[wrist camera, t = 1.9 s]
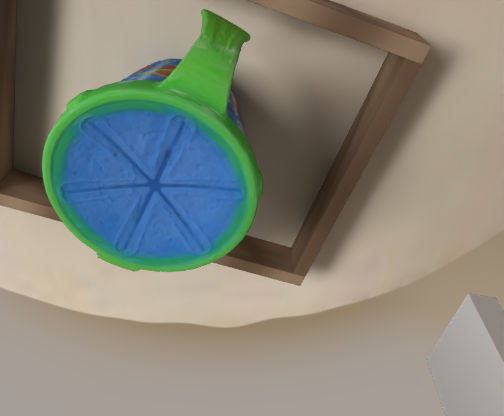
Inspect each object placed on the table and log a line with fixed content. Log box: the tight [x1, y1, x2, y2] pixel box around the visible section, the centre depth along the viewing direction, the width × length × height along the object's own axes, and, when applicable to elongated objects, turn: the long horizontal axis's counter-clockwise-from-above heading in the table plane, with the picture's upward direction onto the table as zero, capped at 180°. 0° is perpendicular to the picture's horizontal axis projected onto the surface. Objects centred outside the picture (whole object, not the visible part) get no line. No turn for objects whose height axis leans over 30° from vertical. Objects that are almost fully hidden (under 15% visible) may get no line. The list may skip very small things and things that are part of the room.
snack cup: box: [42, 9, 263, 272], centre depth 26 cm, size 16×10×10 cm
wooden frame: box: [0, 0, 431, 286], centre depth 29 cm, size 24×19×3 cm
